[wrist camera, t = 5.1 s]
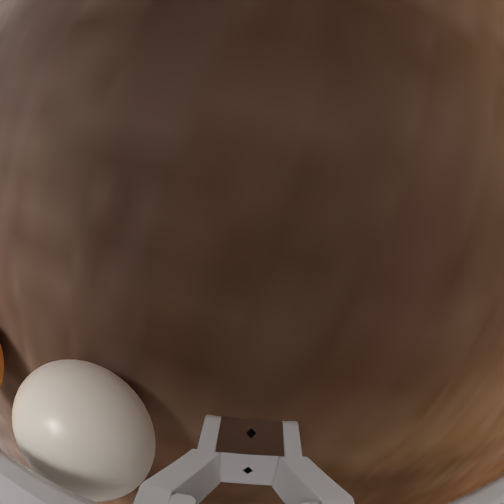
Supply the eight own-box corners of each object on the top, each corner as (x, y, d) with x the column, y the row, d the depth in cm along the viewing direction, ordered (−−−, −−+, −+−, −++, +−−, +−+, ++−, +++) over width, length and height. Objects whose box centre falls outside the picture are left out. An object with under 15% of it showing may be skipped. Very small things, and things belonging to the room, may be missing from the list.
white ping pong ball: (211, 446, 7) (149, 366, 12) (37, 397, 4) (40, 309, 8) (144, 529, 6) (102, 444, 10) (5, 505, 3) (2, 406, 7)
